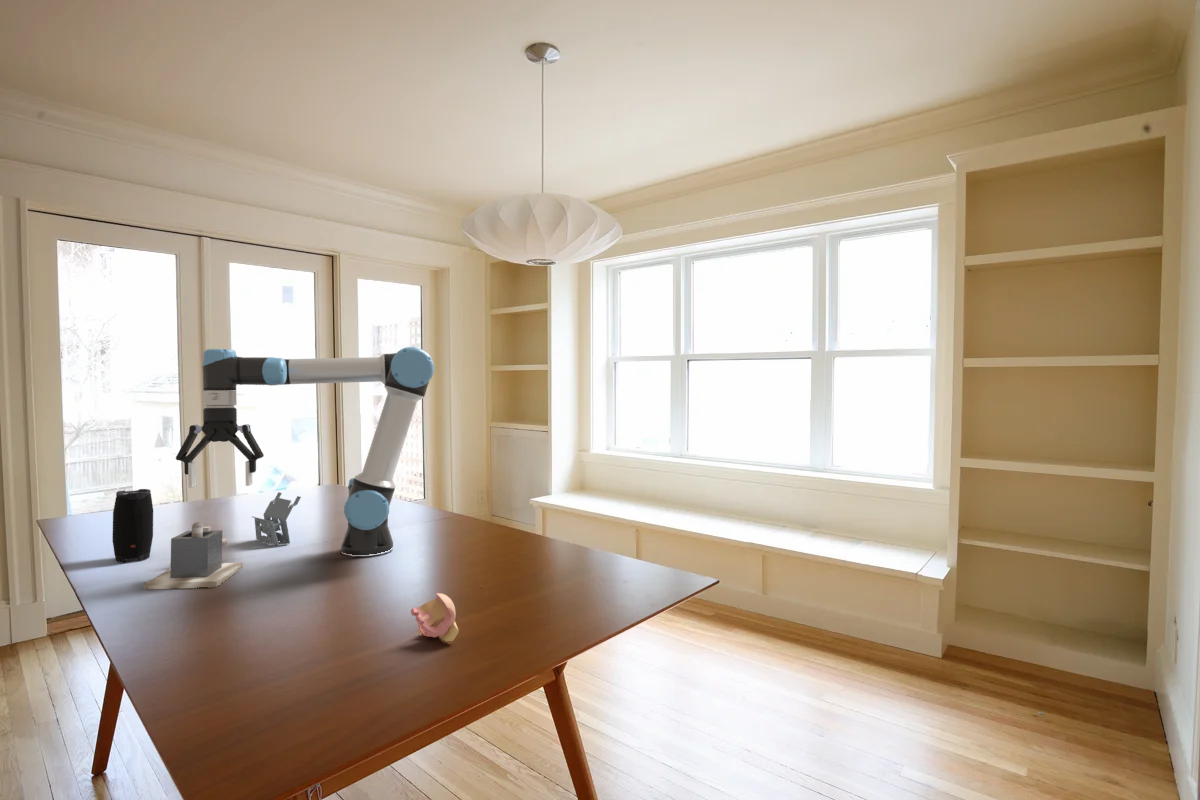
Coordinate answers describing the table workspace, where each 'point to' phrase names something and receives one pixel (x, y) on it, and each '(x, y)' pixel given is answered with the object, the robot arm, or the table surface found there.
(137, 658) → the table surface
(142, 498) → the portable speaker
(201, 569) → the gray open tub
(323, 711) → the table surface
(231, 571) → the keeper board
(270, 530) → the bracket
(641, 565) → the table surface
